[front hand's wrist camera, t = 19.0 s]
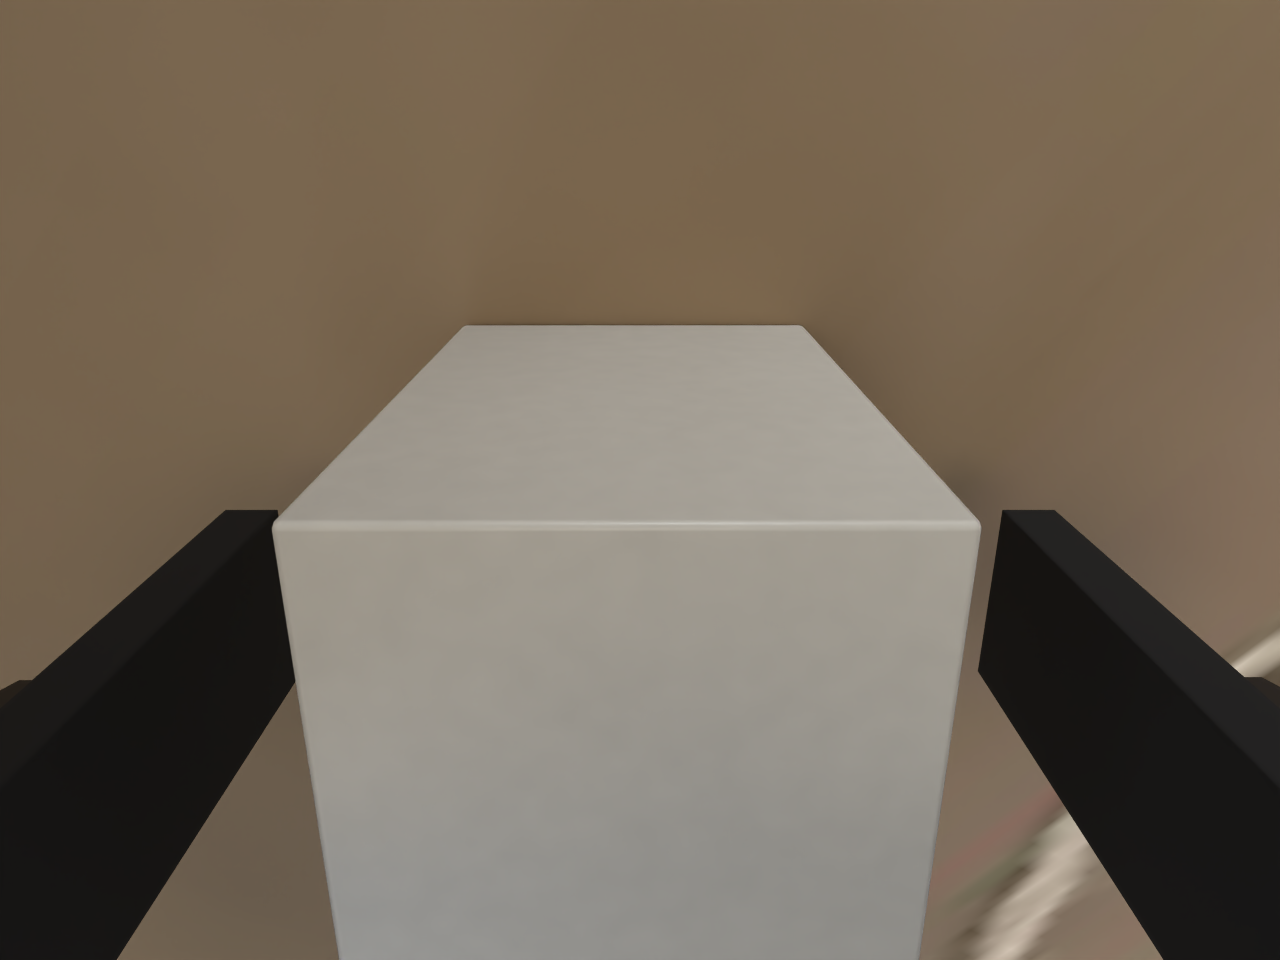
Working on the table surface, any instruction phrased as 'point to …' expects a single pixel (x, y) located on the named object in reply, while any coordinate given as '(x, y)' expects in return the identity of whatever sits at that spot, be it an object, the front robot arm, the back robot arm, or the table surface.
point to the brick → (628, 654)
